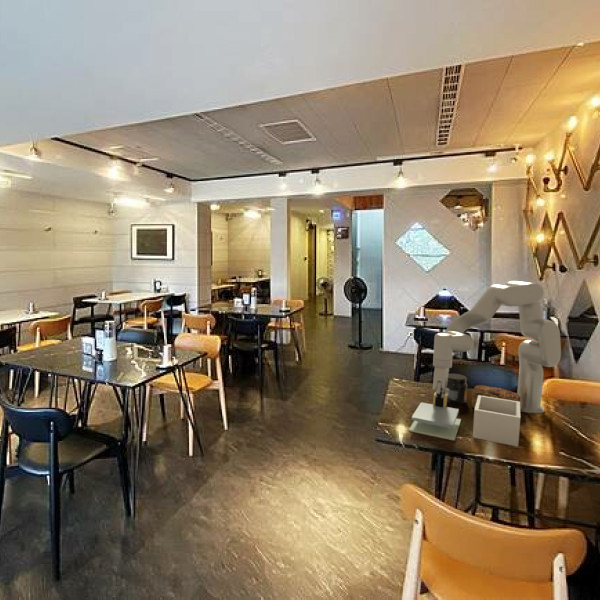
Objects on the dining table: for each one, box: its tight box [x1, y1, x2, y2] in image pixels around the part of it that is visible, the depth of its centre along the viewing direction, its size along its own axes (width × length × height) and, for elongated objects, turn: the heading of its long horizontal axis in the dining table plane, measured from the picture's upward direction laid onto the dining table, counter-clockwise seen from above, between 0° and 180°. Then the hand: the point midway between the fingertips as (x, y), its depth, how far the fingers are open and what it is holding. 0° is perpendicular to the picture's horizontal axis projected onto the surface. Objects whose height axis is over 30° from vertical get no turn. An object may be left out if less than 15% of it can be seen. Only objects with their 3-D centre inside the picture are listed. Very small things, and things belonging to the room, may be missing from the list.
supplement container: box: [445, 373, 468, 405], centre depth 195 cm, size 10×10×12 cm
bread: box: [470, 384, 520, 409], centre depth 185 cm, size 19×11×10 cm, turn 54°
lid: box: [410, 391, 460, 428], centre depth 167 cm, size 21×15×7 cm
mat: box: [408, 417, 462, 441], centre depth 167 cm, size 21×17×1 cm
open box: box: [472, 395, 521, 447], centre depth 161 cm, size 18×15×11 cm
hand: (439, 404), depth 175 cm, fingers closed on lid, 4 cm apart
